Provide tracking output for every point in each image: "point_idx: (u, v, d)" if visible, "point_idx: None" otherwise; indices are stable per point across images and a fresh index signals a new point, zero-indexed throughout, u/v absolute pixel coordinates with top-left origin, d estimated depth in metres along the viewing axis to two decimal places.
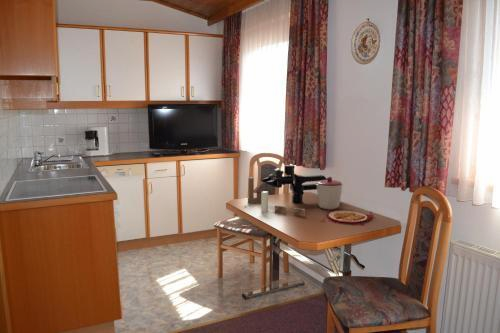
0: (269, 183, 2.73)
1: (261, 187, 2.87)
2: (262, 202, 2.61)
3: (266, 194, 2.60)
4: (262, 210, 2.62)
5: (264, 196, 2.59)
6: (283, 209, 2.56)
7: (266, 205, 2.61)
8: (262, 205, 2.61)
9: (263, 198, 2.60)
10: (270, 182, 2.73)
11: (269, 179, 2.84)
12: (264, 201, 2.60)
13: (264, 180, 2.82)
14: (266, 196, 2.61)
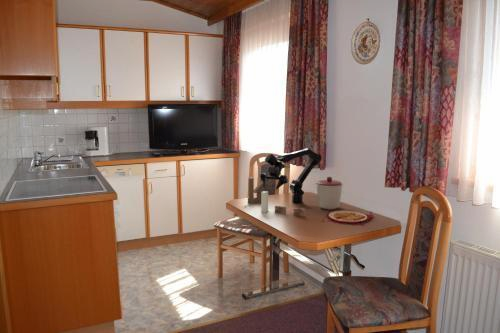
0: (278, 186, 2.67)
1: (261, 187, 2.87)
2: (262, 202, 2.61)
3: (266, 194, 2.60)
4: (262, 210, 2.62)
5: (264, 196, 2.59)
6: (283, 209, 2.56)
7: (266, 205, 2.61)
8: (262, 205, 2.61)
9: (263, 198, 2.60)
10: (279, 184, 2.67)
11: (266, 180, 2.73)
12: (264, 201, 2.60)
13: (265, 185, 2.72)
14: (266, 196, 2.61)
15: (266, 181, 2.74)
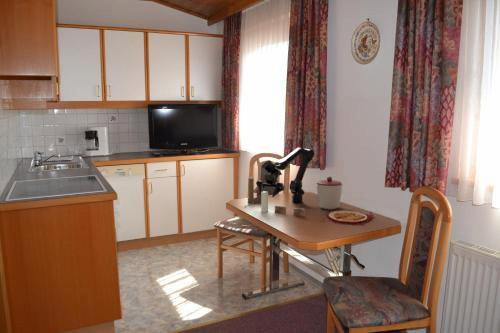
0: (275, 194, 2.63)
1: None
2: (262, 202, 2.61)
3: (266, 194, 2.60)
4: (262, 210, 2.62)
5: (264, 196, 2.59)
6: (283, 209, 2.56)
7: (266, 205, 2.61)
8: (262, 205, 2.61)
9: (263, 198, 2.60)
10: (275, 192, 2.63)
11: (262, 187, 2.69)
12: (264, 201, 2.60)
13: None
14: (266, 196, 2.61)
15: (262, 188, 2.70)
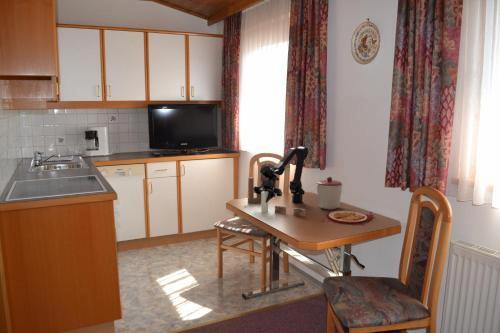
0: (268, 199, 2.61)
1: (261, 187, 2.87)
2: (262, 202, 2.61)
3: (266, 194, 2.60)
4: (262, 210, 2.62)
5: (264, 196, 2.59)
6: (283, 209, 2.56)
7: (266, 205, 2.61)
8: (262, 205, 2.61)
9: (263, 198, 2.60)
10: (269, 197, 2.61)
11: None
12: (264, 201, 2.60)
13: None
14: (266, 196, 2.60)
15: None
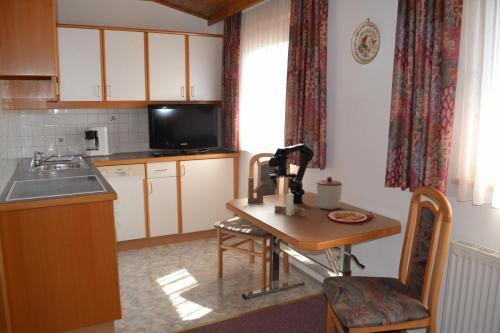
0: (274, 185, 2.73)
1: (261, 187, 2.87)
2: (287, 205, 2.53)
3: (291, 197, 2.52)
4: (287, 213, 2.54)
5: (289, 199, 2.52)
6: (283, 209, 2.56)
7: (291, 208, 2.54)
8: (287, 208, 2.53)
9: (288, 201, 2.52)
10: (274, 184, 2.74)
11: (289, 179, 2.76)
12: (289, 204, 2.52)
13: (288, 185, 2.76)
14: (291, 199, 2.53)
15: (289, 180, 2.75)
